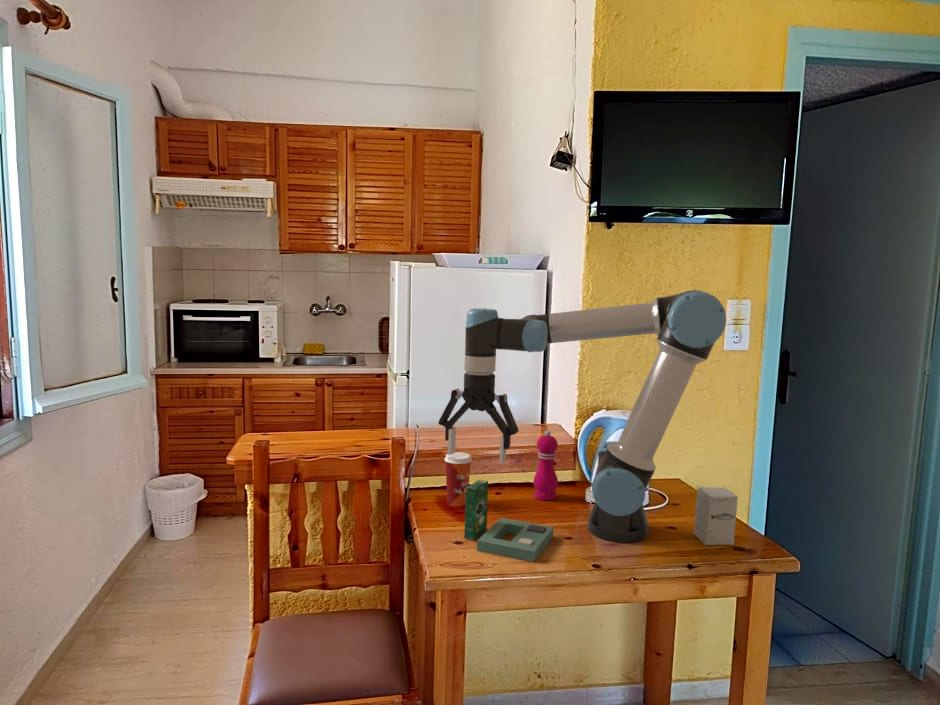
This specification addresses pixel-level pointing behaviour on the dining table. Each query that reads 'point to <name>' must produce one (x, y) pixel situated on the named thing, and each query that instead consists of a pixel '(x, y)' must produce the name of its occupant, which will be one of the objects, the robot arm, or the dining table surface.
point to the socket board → (516, 539)
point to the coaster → (589, 495)
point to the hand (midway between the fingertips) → (476, 457)
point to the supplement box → (715, 515)
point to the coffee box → (476, 509)
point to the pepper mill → (546, 468)
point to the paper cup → (457, 478)
